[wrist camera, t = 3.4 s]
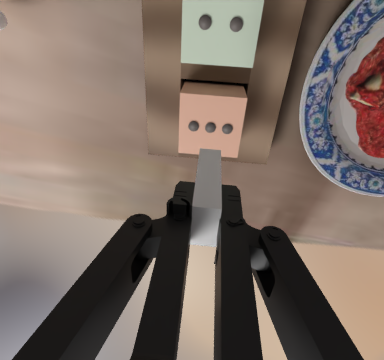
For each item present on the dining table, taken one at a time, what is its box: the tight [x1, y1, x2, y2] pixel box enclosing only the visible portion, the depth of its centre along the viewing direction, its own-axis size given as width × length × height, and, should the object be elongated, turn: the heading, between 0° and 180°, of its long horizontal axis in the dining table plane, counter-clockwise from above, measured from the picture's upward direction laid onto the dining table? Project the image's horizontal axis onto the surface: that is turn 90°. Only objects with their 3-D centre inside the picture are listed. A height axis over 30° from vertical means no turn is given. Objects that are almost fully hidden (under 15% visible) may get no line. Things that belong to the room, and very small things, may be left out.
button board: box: [142, 0, 307, 164], centre depth 24 cm, size 28×14×3 cm, turn 177°
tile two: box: [181, 0, 264, 68], centre depth 22 cm, size 6×6×4 cm
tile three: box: [178, 81, 247, 158], centre depth 27 cm, size 6×6×4 cm
